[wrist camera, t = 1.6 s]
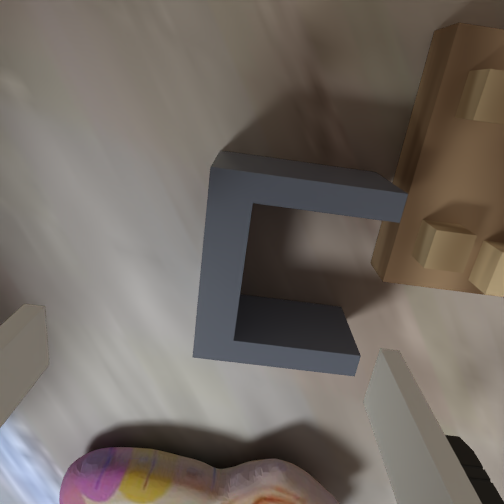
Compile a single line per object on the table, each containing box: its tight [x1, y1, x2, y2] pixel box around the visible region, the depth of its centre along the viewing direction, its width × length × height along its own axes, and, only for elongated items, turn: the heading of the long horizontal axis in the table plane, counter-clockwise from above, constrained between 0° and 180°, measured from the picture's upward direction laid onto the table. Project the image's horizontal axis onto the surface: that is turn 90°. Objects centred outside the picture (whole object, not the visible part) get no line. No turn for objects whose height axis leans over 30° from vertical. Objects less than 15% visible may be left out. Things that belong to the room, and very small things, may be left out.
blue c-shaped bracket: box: [193, 151, 408, 376], centre depth 25 cm, size 10×12×6 cm
